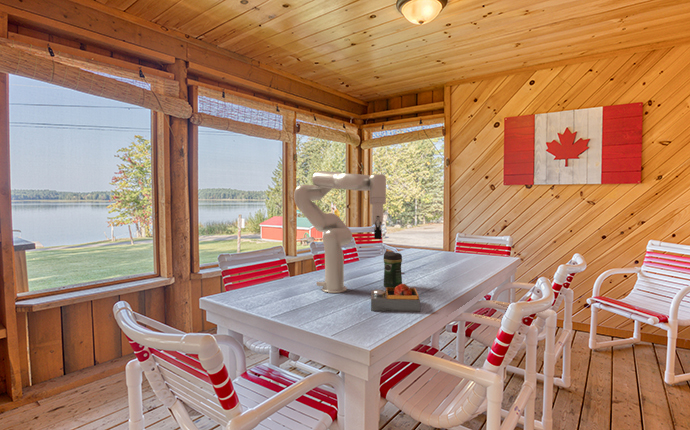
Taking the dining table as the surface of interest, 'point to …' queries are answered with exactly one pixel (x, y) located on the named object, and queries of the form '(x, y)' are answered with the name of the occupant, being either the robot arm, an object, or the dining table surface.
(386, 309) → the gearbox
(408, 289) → the pomegranate
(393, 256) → the coffee jar
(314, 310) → the dining table surface
